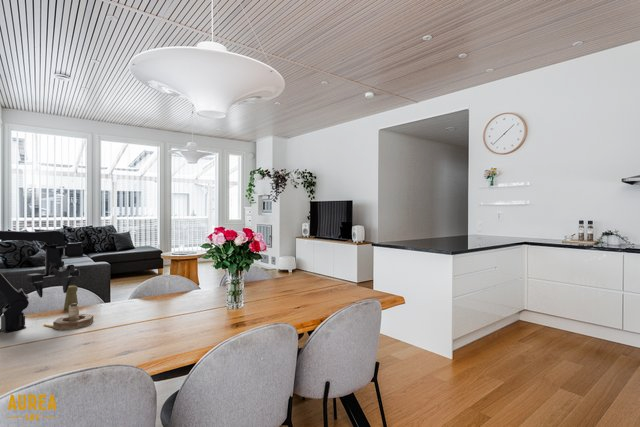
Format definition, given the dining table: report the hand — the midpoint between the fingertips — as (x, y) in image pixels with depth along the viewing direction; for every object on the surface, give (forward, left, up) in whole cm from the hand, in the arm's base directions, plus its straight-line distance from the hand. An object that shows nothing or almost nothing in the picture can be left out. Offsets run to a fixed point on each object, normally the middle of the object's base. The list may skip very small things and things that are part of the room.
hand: (53, 295), depth 148 cm
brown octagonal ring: (+2, -11, -12) cm, 16 cm away
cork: (+18, +17, -12) cm, 28 cm away
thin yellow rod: (-4, -5, -12) cm, 13 cm away
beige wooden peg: (+2, -11, -12) cm, 16 cm away
